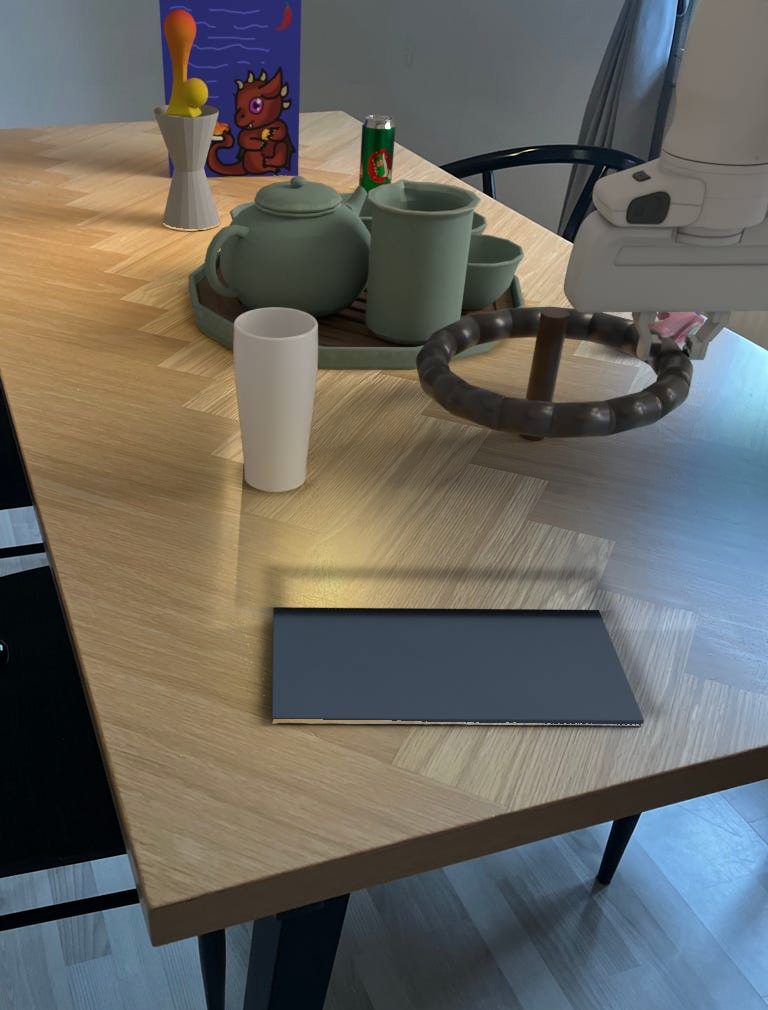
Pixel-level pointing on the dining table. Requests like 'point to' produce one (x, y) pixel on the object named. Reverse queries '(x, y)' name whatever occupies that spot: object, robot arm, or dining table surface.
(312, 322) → the drinking glass
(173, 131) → the lava lamp
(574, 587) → the dining table surface
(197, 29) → the cereal box
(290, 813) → the dining table surface
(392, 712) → the felt mat
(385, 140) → the soda can
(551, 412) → the dark segmented ring
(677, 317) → the pink toy car
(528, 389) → the stand
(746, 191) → the robot arm
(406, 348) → the tea set
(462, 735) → the dining table surface
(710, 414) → the dining table surface
